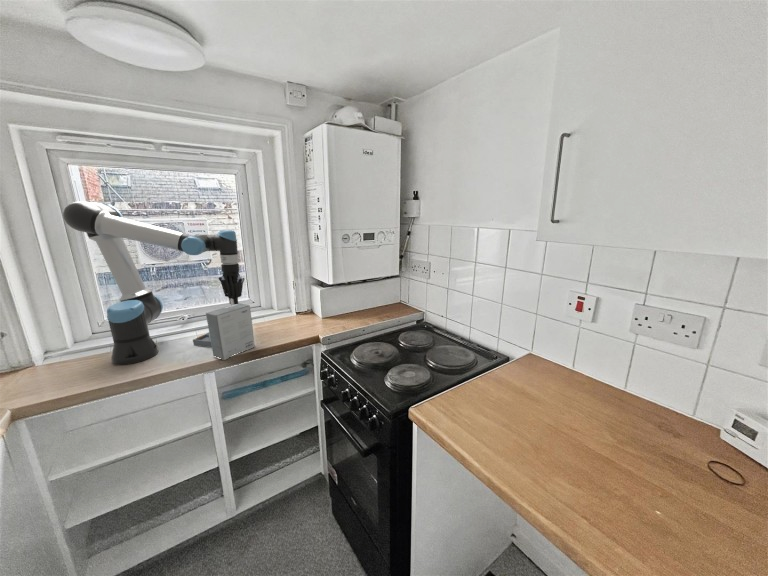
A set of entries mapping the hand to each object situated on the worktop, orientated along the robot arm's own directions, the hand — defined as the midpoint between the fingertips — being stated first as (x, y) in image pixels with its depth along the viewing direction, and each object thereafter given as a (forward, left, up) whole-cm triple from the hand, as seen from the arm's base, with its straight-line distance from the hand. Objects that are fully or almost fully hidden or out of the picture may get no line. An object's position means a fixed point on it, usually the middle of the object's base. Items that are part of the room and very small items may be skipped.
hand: (234, 310), depth 147 cm
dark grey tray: (-4, -6, -13) cm, 15 cm away
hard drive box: (+13, -17, -13) cm, 25 cm away
